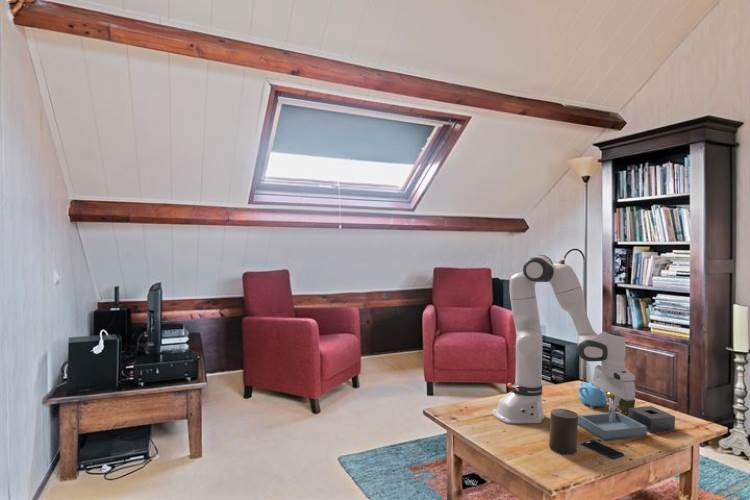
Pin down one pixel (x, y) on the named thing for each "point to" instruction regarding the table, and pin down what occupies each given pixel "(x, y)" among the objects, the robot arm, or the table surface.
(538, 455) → the table surface
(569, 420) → the pillar candle
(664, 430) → the block
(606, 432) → the tray
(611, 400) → the pin
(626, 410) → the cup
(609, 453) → the cell phone
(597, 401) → the teapot
